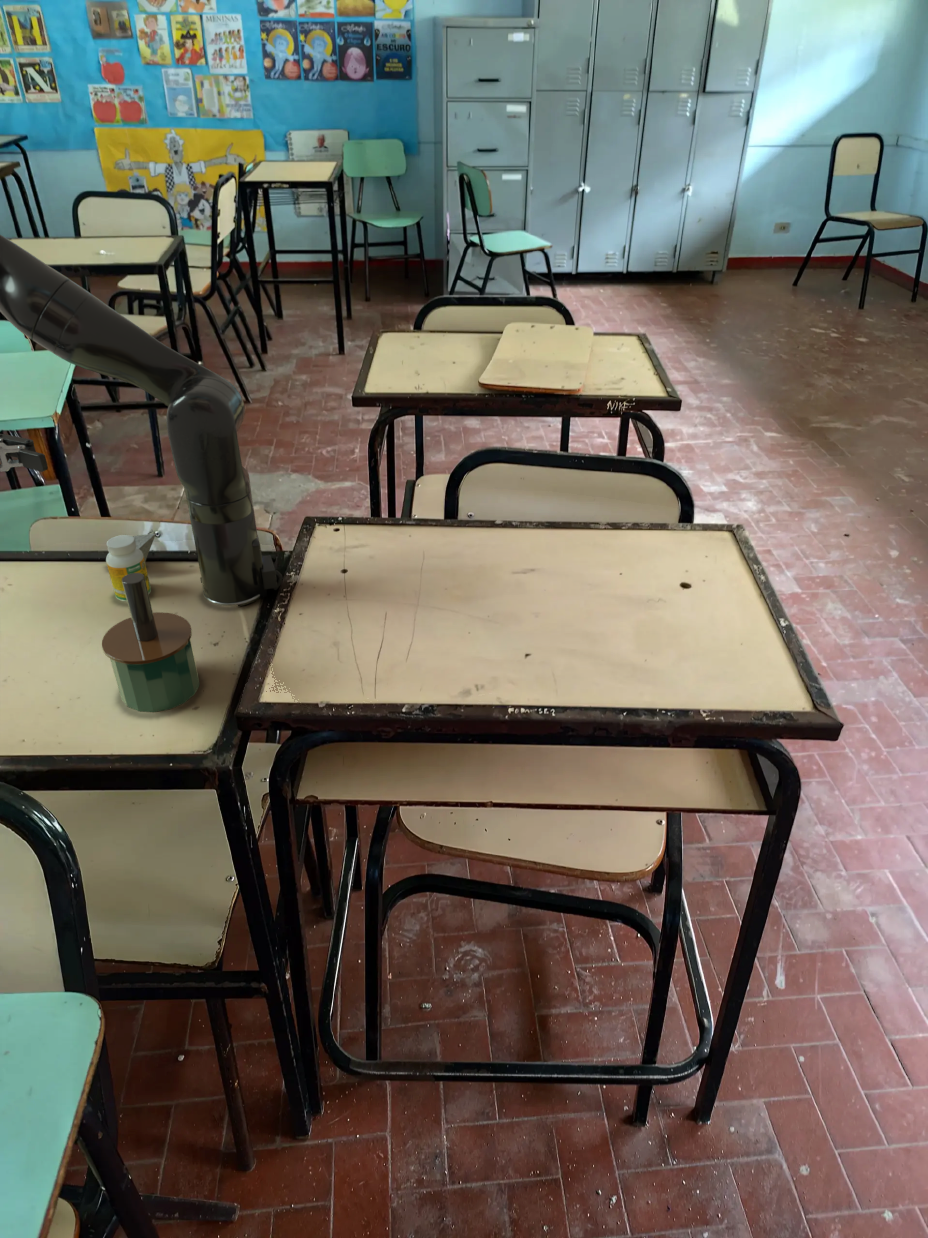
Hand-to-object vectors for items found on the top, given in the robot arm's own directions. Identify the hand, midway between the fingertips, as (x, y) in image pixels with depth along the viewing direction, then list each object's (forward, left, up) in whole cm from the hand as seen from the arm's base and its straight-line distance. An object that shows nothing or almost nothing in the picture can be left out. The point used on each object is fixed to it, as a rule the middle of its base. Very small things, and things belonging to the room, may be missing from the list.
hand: (16, 475), depth 104 cm
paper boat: (-10, -23, -27) cm, 37 cm away
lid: (-12, +13, -19) cm, 25 cm away
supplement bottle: (-9, -13, -27) cm, 31 cm away
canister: (-12, +13, -27) cm, 32 cm away
